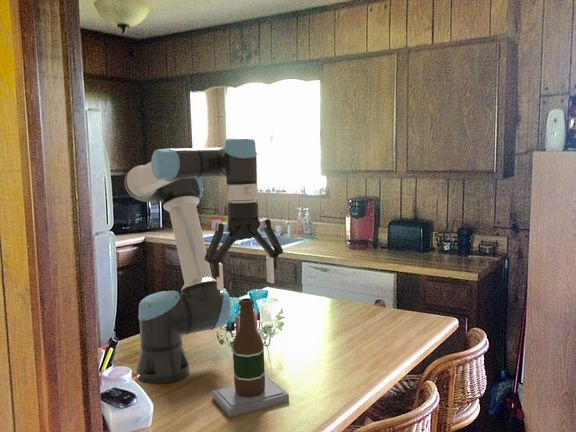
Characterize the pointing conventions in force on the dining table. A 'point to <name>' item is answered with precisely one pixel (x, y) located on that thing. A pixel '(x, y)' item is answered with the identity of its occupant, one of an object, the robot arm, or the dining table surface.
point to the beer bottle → (248, 354)
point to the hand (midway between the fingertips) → (246, 286)
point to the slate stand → (249, 399)
